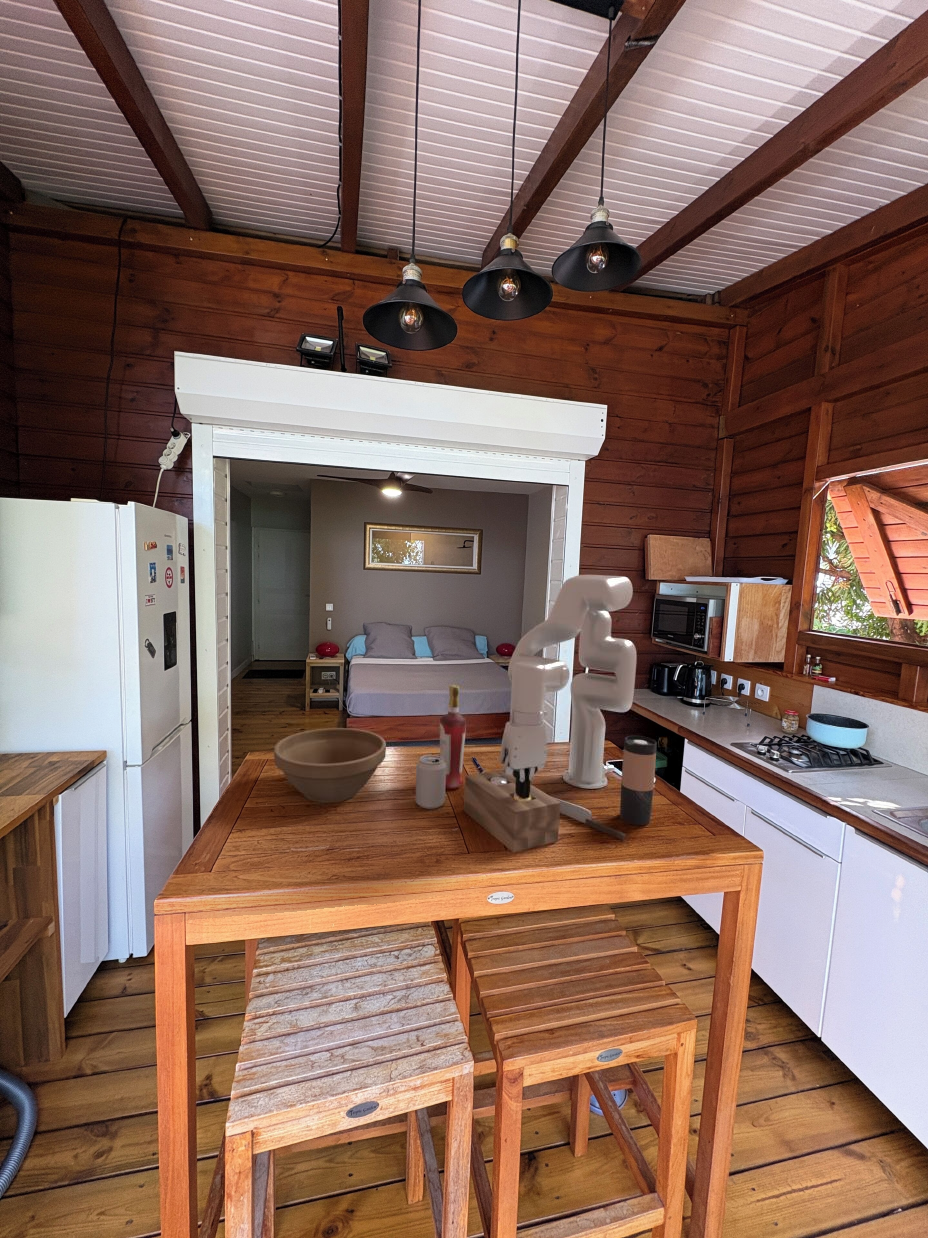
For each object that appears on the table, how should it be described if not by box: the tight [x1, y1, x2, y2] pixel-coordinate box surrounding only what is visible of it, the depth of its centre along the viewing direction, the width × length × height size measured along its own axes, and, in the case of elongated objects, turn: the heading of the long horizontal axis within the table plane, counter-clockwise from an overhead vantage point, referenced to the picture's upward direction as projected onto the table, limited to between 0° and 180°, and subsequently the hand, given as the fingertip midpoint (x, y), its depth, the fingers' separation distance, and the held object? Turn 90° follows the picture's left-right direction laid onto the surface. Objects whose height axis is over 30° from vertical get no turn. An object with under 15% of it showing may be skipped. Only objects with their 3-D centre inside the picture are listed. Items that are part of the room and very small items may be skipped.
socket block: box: [463, 768, 561, 854], centre depth 127 cm, size 12×22×9 cm, turn 29°
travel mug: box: [619, 735, 657, 826], centre depth 133 cm, size 8×8×20 cm
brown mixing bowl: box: [273, 727, 387, 804], centre depth 141 cm, size 28×28×13 cm
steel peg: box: [491, 777, 507, 786], centre depth 131 cm, size 4×4×8 cm
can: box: [414, 754, 446, 810], centre depth 137 cm, size 8×8×12 cm
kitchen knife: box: [549, 795, 627, 841], centre depth 134 cm, size 4×1×30 cm
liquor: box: [439, 685, 467, 790], centre depth 148 cm, size 7×7×28 cm
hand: (522, 796), depth 122 cm, fingers closed
